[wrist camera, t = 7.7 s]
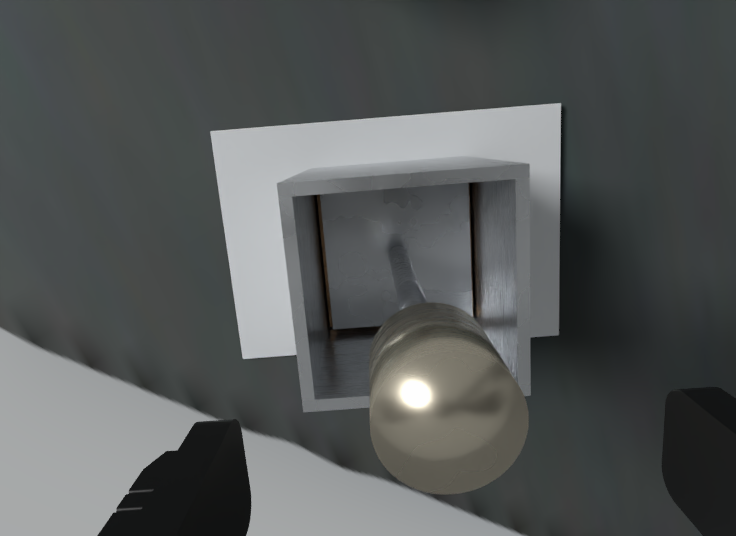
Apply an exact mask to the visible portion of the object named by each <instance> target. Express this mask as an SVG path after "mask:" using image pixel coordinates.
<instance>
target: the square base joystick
mask: <svg viewBox="0 0 736 536" xmlns="http://www.w3.org/2000/svg"><path fill="white" fill-rule="evenodd" d="M458 183H468V185H469V216H470V248H471V279H472V311H473V318H474V319H475V320H476V321H477V322H478V323H479V325H480V326H481V327H482V329H483V330H484V332H485V333H486V335H487V336H488V338H489V340H490V341H491V343H492V344H493V346H494V347H495V349H496V351H497V352H498V354H499V355H500V357H501V358H502V360H503V361H504V363H505V365H506V366H507V368H508V369H509V371H510V372H511V374H512V376H513V377H514V379H515V380H516V382H517V383H518V385H519V387H520V389H521V390H522V392H523V395H524V396H531V370H530V164H529V163H521V162H512V161H504V160H496V159H487V158H479V157H471V156H457V157H444V158H432V159H419V160H407V161H394V162H381V163H369V164H356V165H343V166H331V167H318V168H310V169H308V170H305V171H303V172H301V173H299V174H297V175H294V176H292V177H290V178H288V179H286V180H283V181H281V182H279V183H277V191H278V200H279V208H280V217H281V225H282V234H283V242H284V251H285V259H286V268H287V276H288V285H289V293H290V302H291V310H292V319H293V327H294V336H295V344H296V353H297V362H298V370H299V379H300V387H301V396H302V404H303V412H313V411H327V410H341V409H354V408H368V407H370V394H369V353H370V348H371V344H372V341H373V339H374V337H375V335H376V333H377V332H378V330H379V328H380V327H381V326H373V327H359V328H346V329H333V323H332V313H331V303H330V293H329V283H328V272H327V262H326V252H325V242H324V232H323V222H322V212H321V201H320V194H331V193H343V192H356V191H369V190H381V189H394V188H407V187H420V186H432V185H445V184H458Z"/></svg>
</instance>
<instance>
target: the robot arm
mask: <svg viewBox="0 0 736 536" xmlns="http://www.w3.org/2000/svg"><path fill="white" fill-rule="evenodd" d="M662 473H663V478H664V482H665V485H666V487H667V490H668V492H669V494H670V496H671V498H672V499H673V501H674V502H675V503H676V504H677V506H678V507H679V508H680V509H681V510H682V511H683V513H684V514H685V515H686V516H687V517H688V519H689V520H690V521H691V522H692V523H693V524H694V526H695V527H696V528H697V529H698V530H699V532H700V533H701V534H702V535H703V536H736V399H735V398H734V397H732V396H731V395H730V394H728V393H727V392H725V391H724V390H722V389H721V388H718V387H706V388H691V389H677V390H672V391H671V392H670V393H669V394H668V396H667V399H666V405H665V421H664V436H663V452H662ZM250 515H251V491H250V484H249V477H248V471H247V465H246V459H245V451H244V445H243V438H242V431H241V427H240V424H239V422H238V421H237V420H236V419H233V420H219V421H204V422H196V423H195V424H194V425H193V427H192V428H191V430H190V431H189V433H188V435H187V436H186V438H185V439H184V441H183V443H182V444H181V446H180V448H179V449H178V451H166V452H165V453H164V454H162V455H161V456H160V457H159V458H157V459H156V460H155V461H153V462H152V463H151V464H150V465H148V466H147V467H146V468H145V469H143V471H142V472H141V473H140V475H139V477H138V478H137V479H136V481H135V482H134V484H133V485H132V487H131V488H130V490H129V494H127V495H125V497H124V498H123V500H122V501H121V503H120V504H119V505H118V507H117V511H116V513H113V514H112V516H111V517H110V518H109V520H108V521H107V523H106V524H105V526H104V527H103V529H102V530H101V532H100V533H99V534H98V536H246V534H247V531H248V527H249V522H250Z"/></svg>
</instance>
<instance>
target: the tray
mask: <svg viewBox="0 0 736 536" xmlns="http://www.w3.org/2000/svg"><path fill="white" fill-rule="evenodd" d="M210 133H211V140H212V147H213V154H214V161H215V168H216V175H217V182H218V189H219V196H220V203H221V210H222V217H223V224H224V231H225V238H226V245H227V251H228V258H229V265H230V272H231V279H232V286H233V293H234V300H235V307H236V314H237V321H238V328H239V335H240V342H241V349H242V356H243V359H249V358H262V357H276V356H289V355H297V353H296V344H295V336H294V327H293V319H292V310H291V302H290V293H289V285H288V276H287V268H286V259H285V251H284V242H283V234H282V225H281V217H280V208H279V200H278V191H277V183H279V182H281V181H283V180H286V179H288V178H290V177H292V176H294V175H297V174H299V173H301V172H303V171H305V170H308V169H310V168H318V167H331V166H343V165H356V164H369V163H381V162H394V161H407V160H419V159H432V158H444V157H457V156H471V157H479V158H487V159H496V160H504V161H512V162H521V163H529V164H530V337H542V336H556V335H559V267H560V156H561V103H557V104H544V105H532V106H519V107H507V108H494V109H482V110H469V111H457V112H444V113H432V114H419V115H407V116H394V117H382V118H370V119H357V120H345V121H332V122H320V123H307V124H295V125H282V126H270V127H257V128H245V129H232V130H220V131H210Z"/></svg>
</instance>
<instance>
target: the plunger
mask: <svg viewBox="0 0 736 536" xmlns="http://www.w3.org/2000/svg"><path fill="white" fill-rule="evenodd" d="M320 201H321V212H322V222H323V232H324V242H325V252H326V262H327V272H328V283H329V293H330V303H331V313H332V323H333V329H346V328H359V327H373V326H381V327H380V328H379V330H378V332H377V333H376V335H375V337H374V339H373V341H372V344H371V348H370V353H369V394H370V433H371V439H372V443H373V446H374V449H375V451H376V453H377V456H378V458H379V459H380V461H381V462H382V464H383V465H384V466H385V467H386V469H387V470H388V471H389V472H390V473H391V474H392V475H394V476H395V477H396V478H397V479H399V480H400V481H402V482H403V483H405V484H406V485H409V486H411V487H413V488H415V489H418V490H421V491H424V492H429V493H434V494H458V493H464V492H468V491H472V490H475V489H478V488H480V487H483V486H485V485H487V484H489V483H491V482H492V481H494V480H495V479H497V478H498V477H499V476H501V475H502V474H503V473H504V472H505V471H506V470H507V469H508V468H509V467H510V466H511V465H512V464H513V463H514V461H515V460H516V458H517V457H518V456H519V454H520V452H521V450H522V448H523V446H524V443H525V440H526V437H527V432H528V424H529V416H528V408H527V403H526V400H525V397H524V395H523V392H522V390H521V389H520V387H519V385H518V383H517V382H516V380H515V379H514V377H513V376H512V374H511V372H510V371H509V369H508V368H507V366H506V365H505V363H504V361H503V360H502V358H501V357H500V355H499V354H498V352H497V351H496V349H495V347H494V346H493V344H492V343H491V341H490V340H489V338H488V336H487V335H486V333H485V332H484V330H483V329H482V327H481V326H480V325H479V323H478V322H477V321H476V320H475V319H474V318H473V311H472V279H471V248H470V216H469V185H468V183H458V184H445V185H432V186H420V187H407V188H394V189H381V190H369V191H356V192H343V193H331V194H320Z"/></svg>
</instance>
